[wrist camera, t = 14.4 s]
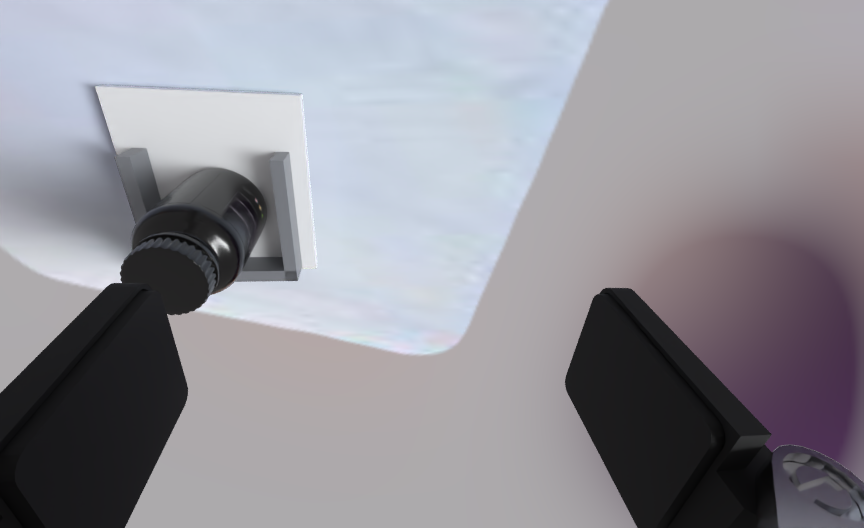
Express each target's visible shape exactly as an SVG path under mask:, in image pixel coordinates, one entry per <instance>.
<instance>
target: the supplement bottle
mask: <svg viewBox="0 0 864 528" xmlns="http://www.w3.org/2000/svg"><path fill="white" fill-rule="evenodd" d="M266 220H267V206H266V203H265V200H264V197H263V195H262V194H261V192H260V191H259V189H258V188H257V187H256V186H255V185H254V184H253V183H252V182H251V181H250V180H249V179H247V178H246V177H244V176H243V175H241V174H239V173H237V172H234V171H231V170H227V169H222V168H210V169H204V170H201V171H198V172H196V173H194V174H192V175H191V176H189V177H188V178H187V179H186V180H184V181H183V182H182V183H181V184H179V185H178V186H177V187H176V188H175V189H174V190H172V191H171V192H170V193H169V194H168V195H167V196H165V197H164V198H163V199H162V200H161V201H159V202H158V203H157V204H156V205H155V206H154V207H152V208H151V209H150V210H149V211H148V212H147V213H145V214H144V215H143V216H142V217H141V218H140V220H139V221H138V222H137V223H136V225H135V227H134V229H133V232H132V235H131V251H132V252H131V253H130V254H129V255H128V256H127V257H126V258H125V260H124V263H123V264H122V266H121V272H120V275H121V281H122V283H145V284H148V285H149V286H150V287H151V288H152V291H158V292H159V293H160V294H161V296H162V299H163V303H164V306H165V310H166V313H167V314H169V315H174V314H177V315H181V314H182V313H189V312H190V311H195V310H196V308H199V307H201V306H202V304H203V303H205V302H206V301H207V299H208V297H209V296H210V295H212V294H216V293H218V292H221V291H223V290H225V289H226V288H228V287H229V286H230V285H232V284H233V283H234V282H235V281H236V280H237V278H238V277H239V275H240V274H241V272H242V270H243V268H244V266H245V264H246V262H247V260H248V258H249V257H250V255H251V253H252V251H253V249H254V247H255V245H256V243H257V241H258V239H259V237H260V235H261V233H262V231H263V229H264V226H265V224H266Z"/></svg>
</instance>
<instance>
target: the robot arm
mask: <svg viewBox="0 0 864 528" xmlns="http://www.w3.org/2000/svg"><path fill="white" fill-rule="evenodd" d="M565 385H566V390H567V393H568V395H569V397H570V399H571V401H572V402H573V404H574V406H575V408H576V410H577V412H578V414H579V416H580V418H581V420H582V422H583V424H584V425H585V427H586V429H587V431H588V433H589V435H590V437H591V439H592V441H593V443H594V445H595V447H596V449H597V450H598V453H599V454H600V456H601V458H602V460H603V462H604V464H605V466H606V468H607V470H608V472H609V474H610V476H611V478H612V479H613V481H614V483H615V485H616V487H617V489H618V491H619V493H620V495H621V497H622V499H623V501H624V503H625V504H626V506H627V508H628V510H629V512H630V514H631V516H632V518H633V520H634V522H635V524H636V525H637V527H638V528H864V483H863V482H862V481H861V480H860V479H859V478H858V477H857V476H856V475H854V474H853V473H852V472H851V471H849V470H848V469H846V468H845V467H844V466H842V465H841V464H839V463H838V462H836V461H835V460H833V459H831V458H829V457H827V456H825V455H823V454H821V453H819V452H816V451H814V450H811V449H808V448H805V447H802V446H794V445H784V446H779V447H778V448H777V449H776V450H774V451H773V452H771V451H770V450H769V449H768V448H767V447H766V446H765V445H764V444H765V443H766V441H767V440H768V439H769V438H770V436H771V433H770V432H769V431H768V430H767V429H766V428H765V427H764V426H763V425H762V424H761V423H760V422H759V421H758V420H757V419H756V418H755V417H754V416H753V415H752V414H751V413H750V411H748V409H747V408H746V407H745V406H744V405H743V404H742V403H741V402H740V401H739V400H738V399H737V398H736V397H735V396H734V395H733V394H732V393H731V392H730V391H729V390H728V389H727V388H726V387H725V386H724V385H723V383H722V382H721V381H720V380H719V379H718V378H717V377H716V376H715V375H714V374H713V373H712V372H711V371H710V370H709V369H708V368H707V367H706V366H705V365H704V364H703V363H702V361H701V360H700V359H699V358H698V357H697V356H696V355H694V353H693V352H692V351H691V350H690V349H689V348H688V347H687V346H686V345H685V344H684V343H683V342H682V341H681V340H680V339H679V338H678V337H677V335H676V334H675V333H674V332H673V331H672V330H671V329H670V328H669V327H668V326H667V325H666V324H665V323H664V322H663V321H662V320H661V319H660V318H659V317H658V316H657V315H656V314H655V312H653V310H652V309H651V308H650V307H649V306H648V305H647V304H646V303H645V302H644V301H643V300H642V299H641V298H640V297H639V296H638V295H637V294H636V293H635V292H634V291H633V290H632V289H629V288H605V289H603V290H602V291H601V292H600V294H597V295H596V296H595V297H594V298H593V300H592V303H591V306H590V309H589V312H588V315H587V318H586V320H585V324H584V326H583V329H582V332H581V335H580V338H579V340H578V343H577V346H576V349H575V352H574V355H573V358H572V360H571V363H570V367H569V369H568V372H567V375H566V379H565ZM187 396H188V387H187V383H186V379H185V376H184V373H183V369H182V366H181V362H180V358H179V355H178V351H177V348H176V345H175V341H174V338H173V334H172V331H171V327H170V323H169V320H168V317H167V313H166V310H165V306H164V303H163V299H162V296H161V294H160V293H159V292H158V291H152V288H151V287H150V286H149V285H148V284H145V283H113V284H110V285H109V286H107V287H106V288H105V289H104V290H103V291H102V292H101V293H100V294H99V295H98V296H97V297H96V298H95V299H94V300H93V301H92V302H91V303H90V304H89V305H88V306H87V307H86V308H85V309H84V310H83V311H82V312H81V313H80V314H79V316H77V317H76V318H75V319H74V320H73V321H72V322H71V323H70V324H69V325H68V326H67V327H66V328H65V329H64V330H63V331H62V332H61V333H60V334H59V335H58V336H57V337H56V338H55V339H54V340H53V341H52V342H51V343H50V344H49V345H48V346H47V347H46V348H45V349H44V350H43V351H42V352H41V353H40V354H39V355H38V356H37V357H36V358H35V359H34V360H33V361H32V362H31V363H30V364H29V365H28V366H27V367H26V368H25V369H24V370H23V371H22V372H21V373H20V375H18V376H17V377H16V378H15V379H14V380H13V381H12V382H11V383H10V384H9V385H8V386H7V387H6V388H5V389H4V390H3V391H2V392H1V393H0V528H125V526H126V524H127V522H128V520H129V518H130V516H131V514H132V512H133V510H134V508H135V505H136V504H137V502H138V499H139V497H140V495H141V493H142V491H143V489H144V487H145V485H146V483H147V481H148V479H149V477H150V475H151V473H152V471H153V469H154V467H155V465H156V463H157V461H158V459H159V457H160V455H161V453H162V450H163V448H164V446H165V444H166V442H167V440H168V438H169V436H170V434H171V432H172V430H173V428H174V426H175V424H176V422H177V420H178V418H179V416H180V414H181V412H182V410H183V408H184V406H185V403H186V400H187Z"/></svg>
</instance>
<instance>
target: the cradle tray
mask: <svg viewBox="0 0 864 528" xmlns="http://www.w3.org/2000/svg"><path fill="white" fill-rule="evenodd" d="M95 88H96V91H97V95H98V98H99V101H100V104H101V107H102V110H103V113H104V117H105V120H106V123H107V126H108V129H109V132H110V135H111V139H112V142H113V145H114V148H115V151H116V154H117V156H115V161H116V164H117V167H118V170H119V173H120V176H121V179H122V182H123V185H124V189H125V192H126V195H127V198H128V201H129V204H130V207H131V210H132V213H133V217H134V220H135V223H137V222H138V221H139V220H140V218H141V217H142V216H143V215H144V214H145V213H147V212H148V211H149V210H150V209H151V208H152V207H154V206H155V205H156V204H157V203H158V202H159V201H161V200H162V199H163V198H164V197H165V196H167V195H168V194H169V193H170V192H171V191H172V190H174V189H175V188H176V187H177V186H178V185H179V184H181V183H182V182H183V181H184V180H186V179H187V178H188V177H189V176H191V175H192V174H194V173H196V172H198V171H201V170H204V169H210V168H222V169H227V170H231V171H234V172H237V173H239V174H241V175H243V176H244V177H246V178H247V179H249V180H250V181H251V182H252V183H253V184H254V185H255V186H256V187H257V188H258V189H259V191H260V192H261V194H262V195H263V197H264V200H265V203H266V206H267V220H266V224H265V226H264V229H263V231H262V233H261V235H260V237H259V239H258V241H257V243H256V245H255V247H254V249H253V251H252V253H251V255H250V257H249V258H248V260H247V262H246V264H245V266H244V268H243V270H242V272H241V274H240V275H239V277H238V278H237V280H236V281H235V282H241V281H298V278H299V275H300V272H301V269H316V268H317V264H318V262H317V251H316V239H315V228H314V217H313V206H312V195H311V184H310V173H309V162H308V151H307V139H306V128H305V117H304V106H303V95H302V94H296V93H274V92H252V91H230V90H208V89H185V88H163V87H141V86H119V85H100V86H95Z"/></svg>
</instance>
